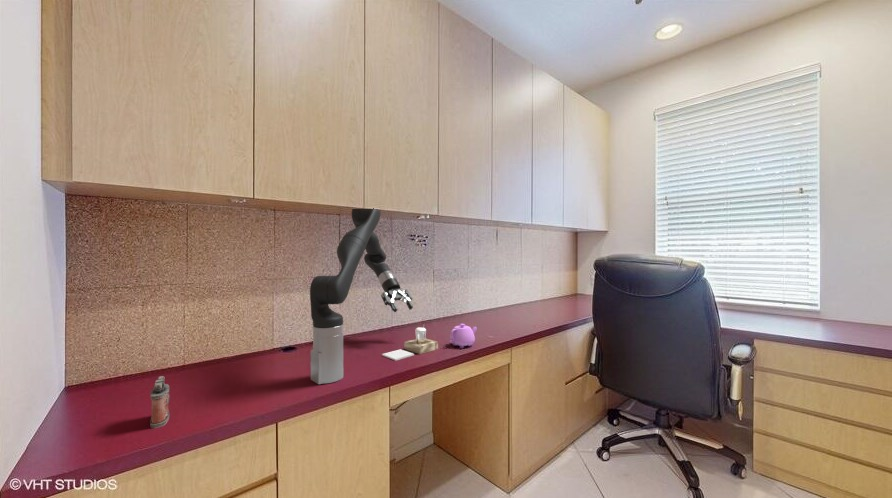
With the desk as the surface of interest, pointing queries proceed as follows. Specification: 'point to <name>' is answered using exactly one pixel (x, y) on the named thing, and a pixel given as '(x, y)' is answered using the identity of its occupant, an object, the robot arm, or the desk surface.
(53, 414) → the desk surface
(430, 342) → the holder
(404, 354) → the mat
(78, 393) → the desk surface
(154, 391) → the lighter
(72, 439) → the desk surface
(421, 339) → the milkshake
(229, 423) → the desk surface
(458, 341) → the teapot
